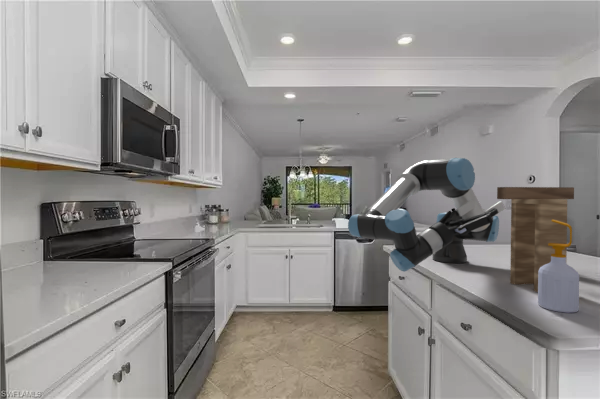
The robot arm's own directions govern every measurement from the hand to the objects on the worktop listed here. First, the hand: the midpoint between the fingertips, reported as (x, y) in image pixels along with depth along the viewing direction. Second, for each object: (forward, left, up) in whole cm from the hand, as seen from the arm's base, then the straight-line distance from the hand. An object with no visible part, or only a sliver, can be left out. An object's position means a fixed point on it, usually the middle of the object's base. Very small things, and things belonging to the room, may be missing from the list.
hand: (487, 203), depth 112 cm
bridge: (-1, +20, -28) cm, 35 cm away
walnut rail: (-1, +19, +2) cm, 19 cm away
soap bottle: (+18, +8, -29) cm, 35 cm away
